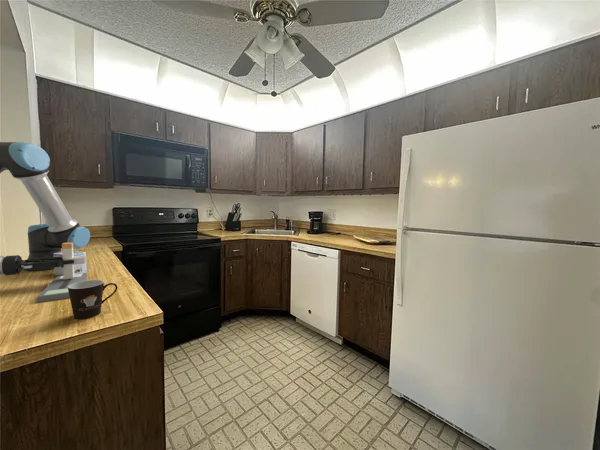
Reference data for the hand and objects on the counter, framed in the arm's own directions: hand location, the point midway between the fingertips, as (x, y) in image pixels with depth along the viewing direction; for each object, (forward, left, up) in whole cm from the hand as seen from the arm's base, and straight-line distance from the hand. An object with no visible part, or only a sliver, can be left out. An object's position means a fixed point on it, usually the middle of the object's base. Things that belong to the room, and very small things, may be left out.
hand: (85, 259), depth 107 cm
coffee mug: (+25, +34, -10) cm, 43 cm away
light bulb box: (-7, -18, -10) cm, 22 cm away
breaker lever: (+4, -4, -8) cm, 9 cm away
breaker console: (+9, +1, -10) cm, 13 cm away
